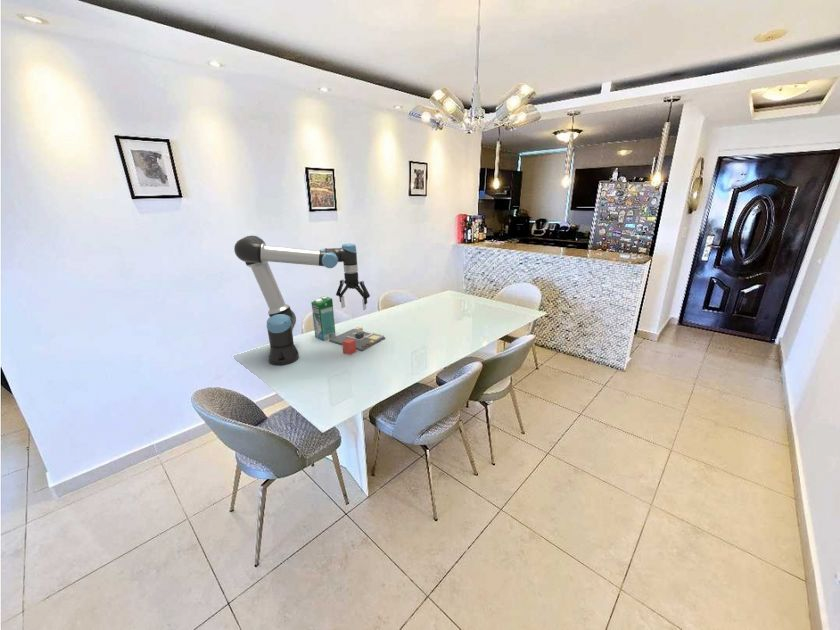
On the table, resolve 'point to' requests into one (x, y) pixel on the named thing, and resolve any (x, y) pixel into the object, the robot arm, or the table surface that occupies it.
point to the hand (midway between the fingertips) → (353, 308)
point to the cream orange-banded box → (358, 329)
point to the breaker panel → (359, 339)
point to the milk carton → (323, 318)
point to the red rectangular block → (349, 346)
